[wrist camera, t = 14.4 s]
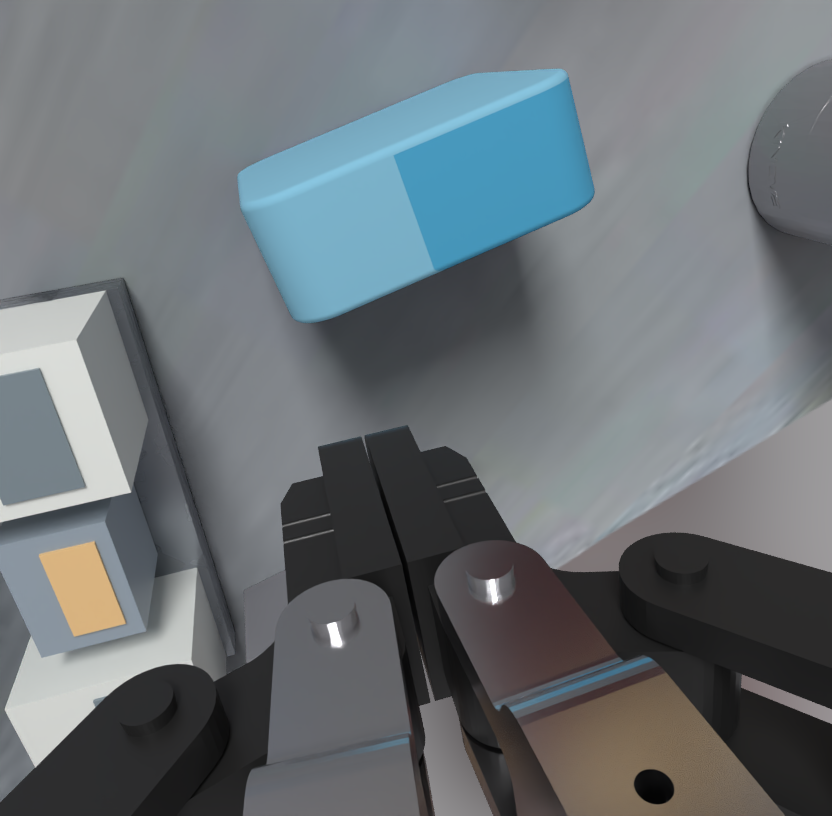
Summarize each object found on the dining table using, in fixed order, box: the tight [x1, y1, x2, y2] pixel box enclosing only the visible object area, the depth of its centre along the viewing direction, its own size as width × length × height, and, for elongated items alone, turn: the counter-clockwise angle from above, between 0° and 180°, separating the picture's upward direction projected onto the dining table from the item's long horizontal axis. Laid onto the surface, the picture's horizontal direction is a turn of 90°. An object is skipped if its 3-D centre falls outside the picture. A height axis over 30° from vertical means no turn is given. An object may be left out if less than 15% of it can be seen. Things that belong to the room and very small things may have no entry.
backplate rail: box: [0, 278, 235, 657], centre depth 37 cm, size 9×22×2 cm, turn 8°
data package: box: [237, 69, 595, 323], centre depth 29 cm, size 12×4×12 cm, turn 110°
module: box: [0, 484, 158, 658], centre depth 33 cm, size 5×6×6 cm
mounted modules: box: [0, 290, 227, 767], centre depth 33 cm, size 8×22×7 cm, turn 8°
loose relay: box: [244, 570, 288, 663], centre depth 41 cm, size 5×7×6 cm
